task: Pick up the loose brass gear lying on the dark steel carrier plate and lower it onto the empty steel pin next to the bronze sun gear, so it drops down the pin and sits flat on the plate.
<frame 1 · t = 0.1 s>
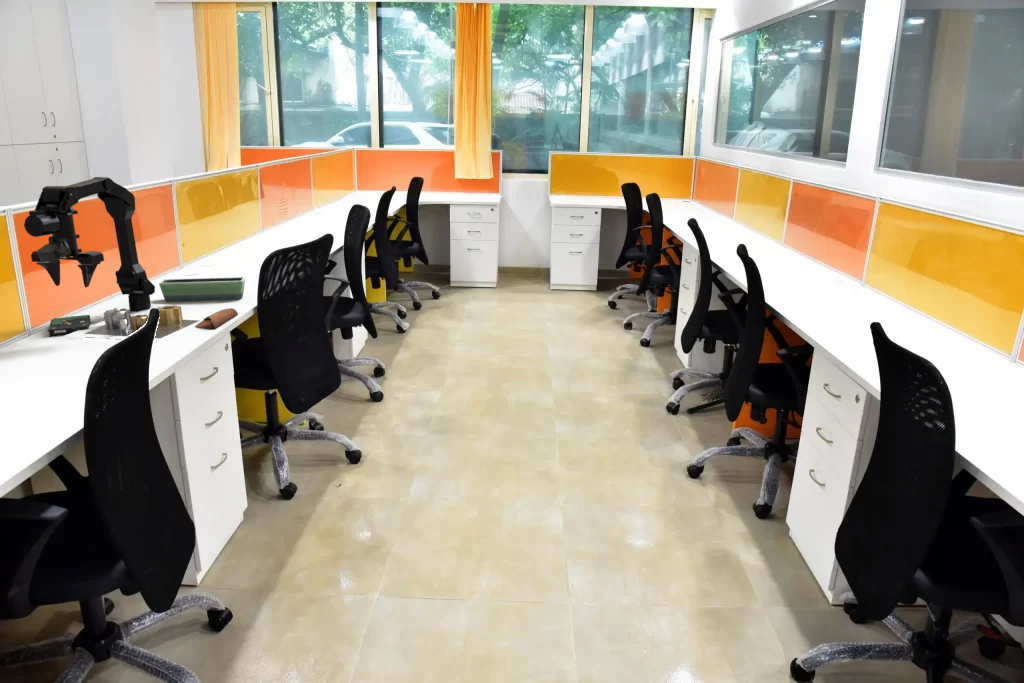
hand: (72, 286, 207), 15 cm above the table, fingers open, 9 cm apart
planter: (205, 300, 257), on the table
carrier: (144, 330, 217), on the table
disk drive: (71, 331, 218), on the table
sunglasses case: (214, 327, 224), on the table
brass gear: (170, 321, 223), point 1 cm above the table, touching carrier
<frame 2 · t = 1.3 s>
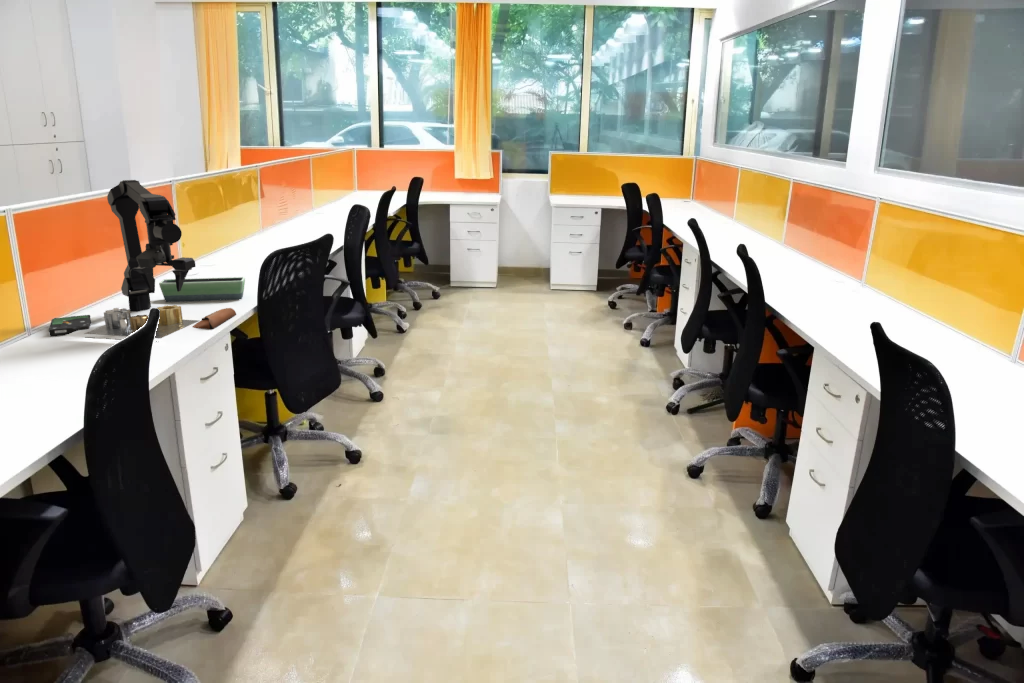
hand: (165, 290, 220), 11 cm above the table, fingers open, 9 cm apart
nothing on the table moved.
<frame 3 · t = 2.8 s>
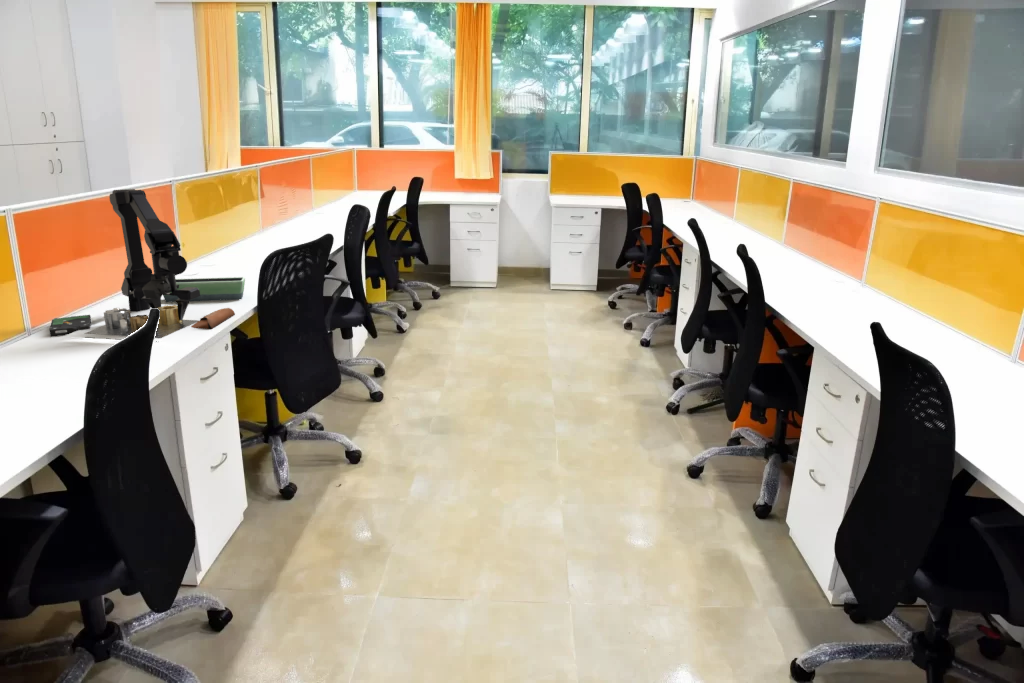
hand: (170, 319, 223), 2 cm above the table, fingers closed on brass gear, 7 cm apart
brass gear: (170, 321, 223), point 1 cm above the table, touching carrier, gripper
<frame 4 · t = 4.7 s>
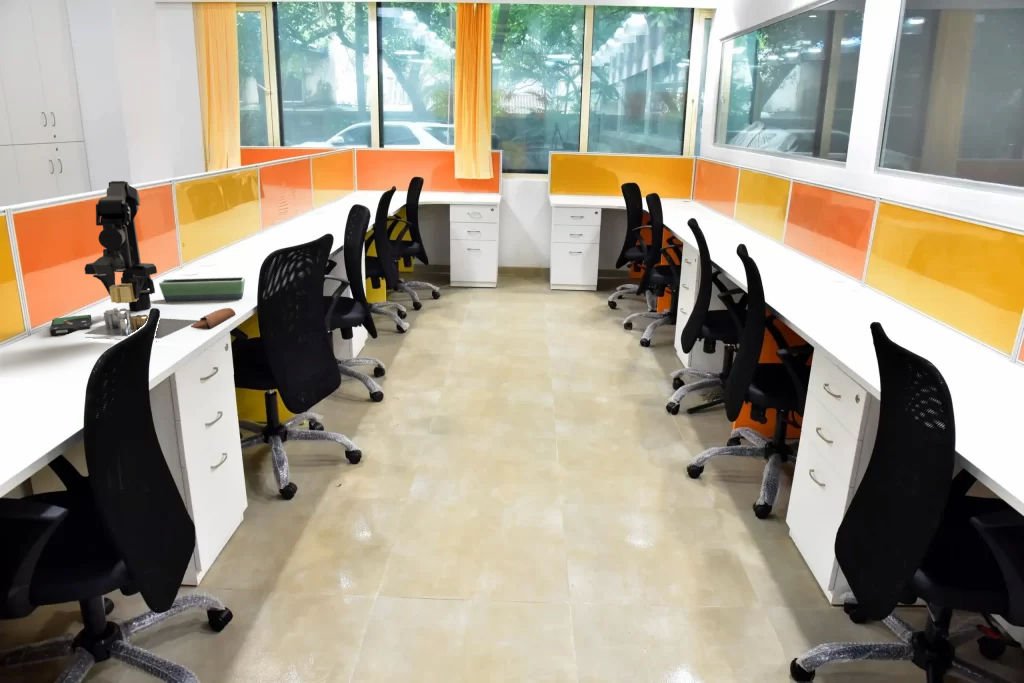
hand: (124, 298, 208), 11 cm above the table, fingers closed on brass gear, 7 cm apart
brass gear: (125, 300, 208), point 11 cm above the table, touching gripper
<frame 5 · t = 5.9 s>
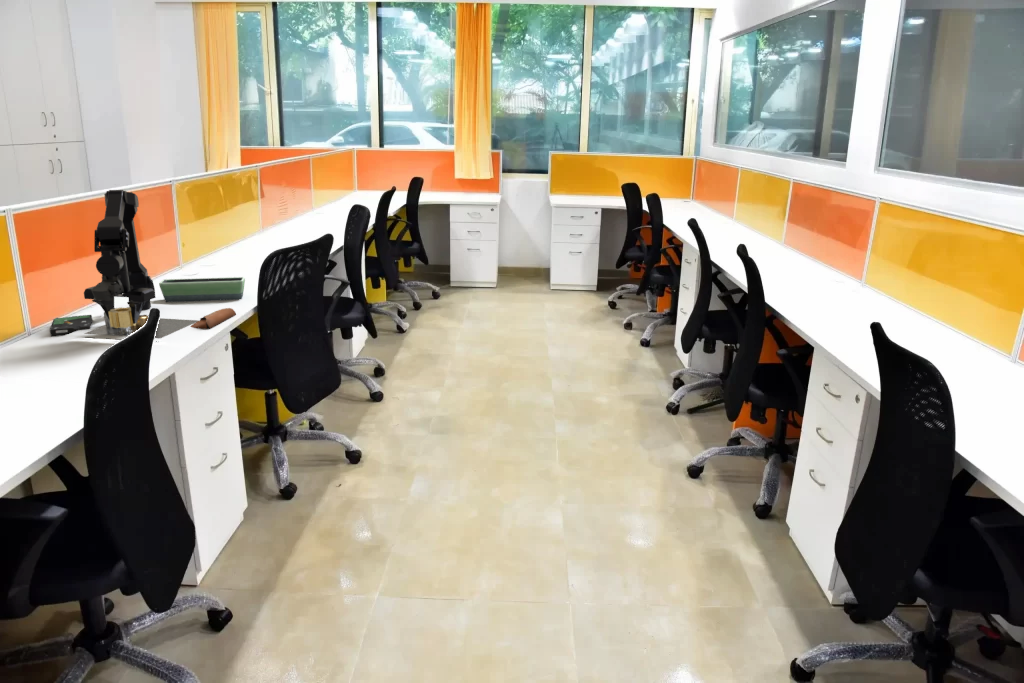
hand: (123, 322, 209), 4 cm above the table, fingers closed on brass gear, 7 cm apart
brass gear: (123, 324, 209), point 4 cm above the table, touching gripper
when the fingers open (3 cm above the table, at t = 6.6 s): brass gear drops 1 cm, resting on carrier.
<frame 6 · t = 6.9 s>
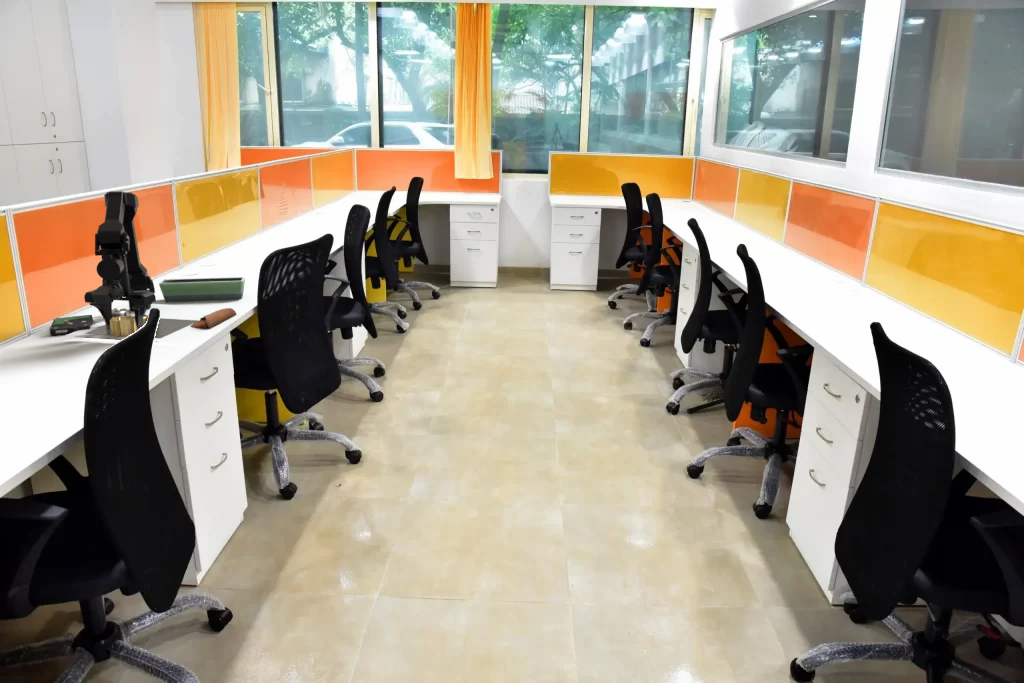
hand: (124, 326, 209), 3 cm above the table, fingers open, 9 cm apart
brass gear: (125, 333, 210), point 1 cm above the table, touching carrier
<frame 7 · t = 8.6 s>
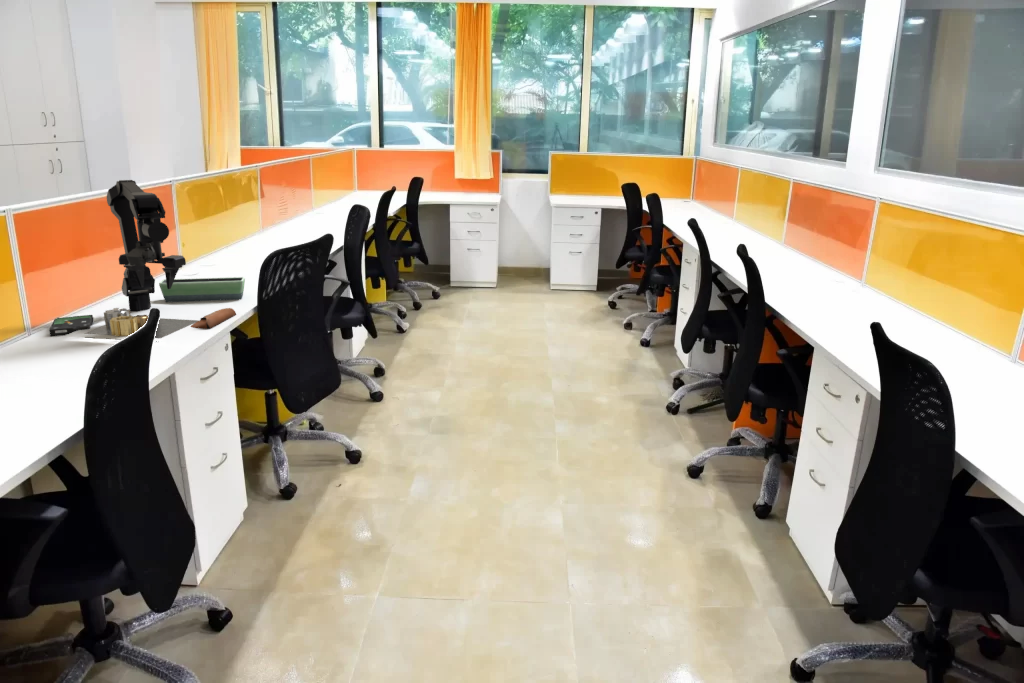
hand: (155, 288, 220), 12 cm above the table, fingers open, 9 cm apart
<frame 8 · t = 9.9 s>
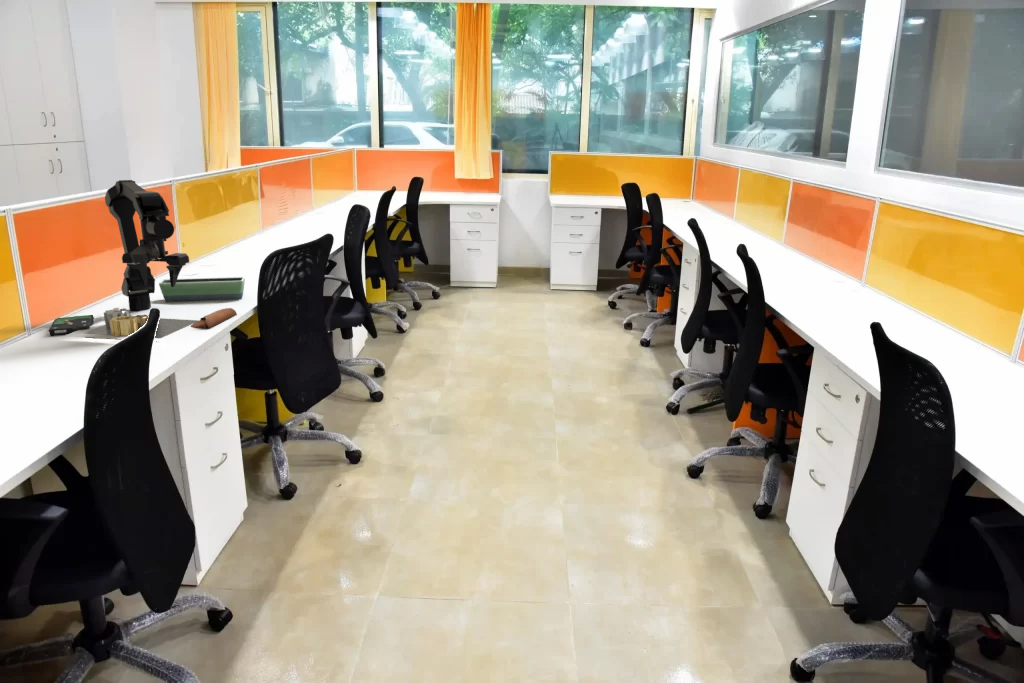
hand: (159, 286, 221), 12 cm above the table, fingers open, 9 cm apart
at the end: brass gear 0.0 cm from the target spot on the carrier, point 1.2 cm above the carrier's base; brass gear tilted 0°; the gripper is holding nothing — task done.
